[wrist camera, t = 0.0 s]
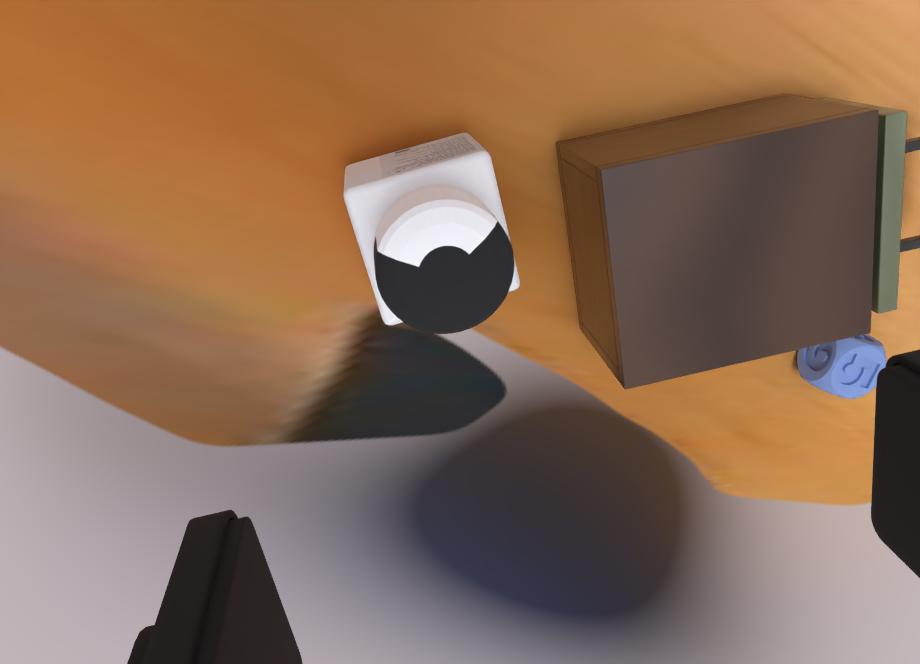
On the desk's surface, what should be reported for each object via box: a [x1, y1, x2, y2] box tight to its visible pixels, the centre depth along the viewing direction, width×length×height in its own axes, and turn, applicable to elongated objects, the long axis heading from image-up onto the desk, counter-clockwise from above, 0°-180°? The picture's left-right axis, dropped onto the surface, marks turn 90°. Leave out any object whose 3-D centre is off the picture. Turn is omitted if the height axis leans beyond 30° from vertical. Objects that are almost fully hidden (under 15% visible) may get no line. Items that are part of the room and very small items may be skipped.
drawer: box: [819, 98, 920, 314], centre depth 45 cm, size 18×11×7 cm, turn 101°
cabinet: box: [556, 94, 879, 389], centre depth 44 cm, size 15×13×9 cm
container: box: [344, 133, 520, 334], centre depth 40 cm, size 8×8×13 cm
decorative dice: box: [797, 334, 886, 399], centre depth 52 cm, size 4×4×4 cm
